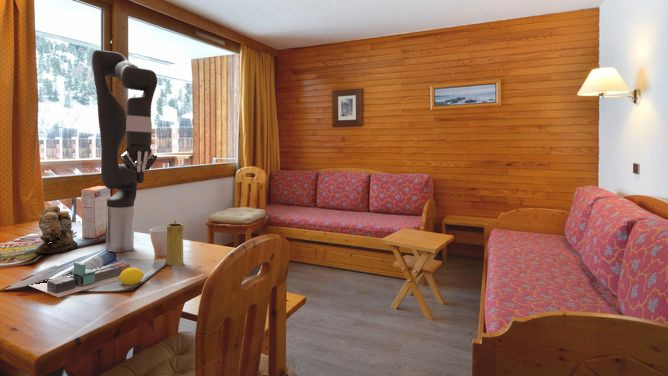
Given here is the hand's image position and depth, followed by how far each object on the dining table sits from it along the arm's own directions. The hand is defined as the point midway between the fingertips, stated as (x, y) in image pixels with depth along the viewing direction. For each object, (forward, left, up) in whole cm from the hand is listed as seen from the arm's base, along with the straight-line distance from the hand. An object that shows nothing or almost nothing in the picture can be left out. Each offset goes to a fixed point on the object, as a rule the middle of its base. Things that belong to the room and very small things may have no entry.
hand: (138, 183), depth 132 cm
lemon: (+12, -11, -29) cm, 34 cm away
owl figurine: (-41, -4, -29) cm, 51 cm away
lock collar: (+2, -19, -28) cm, 34 cm away
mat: (0, -17, -29) cm, 33 cm away
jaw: (+1, -14, -28) cm, 31 cm away
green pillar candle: (+6, +10, -29) cm, 31 cm away
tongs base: (+2, -17, -28) cm, 33 cm away
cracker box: (-52, +18, -29) cm, 62 cm away
